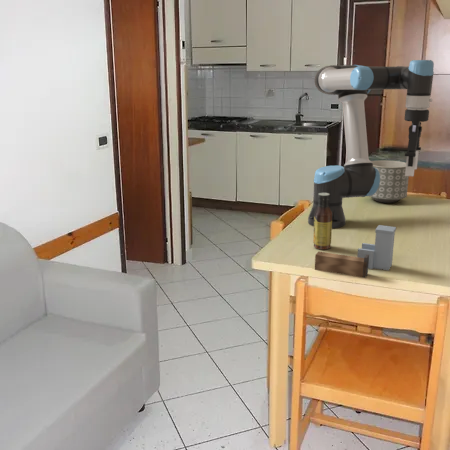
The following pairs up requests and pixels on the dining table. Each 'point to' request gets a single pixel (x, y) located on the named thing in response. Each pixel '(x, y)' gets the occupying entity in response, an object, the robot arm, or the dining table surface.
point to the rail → (342, 264)
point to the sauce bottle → (322, 223)
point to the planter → (391, 181)
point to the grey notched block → (380, 248)
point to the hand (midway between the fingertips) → (411, 172)
